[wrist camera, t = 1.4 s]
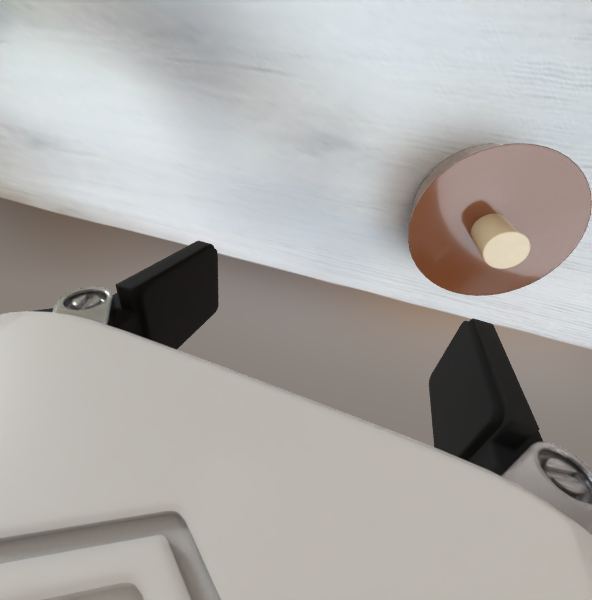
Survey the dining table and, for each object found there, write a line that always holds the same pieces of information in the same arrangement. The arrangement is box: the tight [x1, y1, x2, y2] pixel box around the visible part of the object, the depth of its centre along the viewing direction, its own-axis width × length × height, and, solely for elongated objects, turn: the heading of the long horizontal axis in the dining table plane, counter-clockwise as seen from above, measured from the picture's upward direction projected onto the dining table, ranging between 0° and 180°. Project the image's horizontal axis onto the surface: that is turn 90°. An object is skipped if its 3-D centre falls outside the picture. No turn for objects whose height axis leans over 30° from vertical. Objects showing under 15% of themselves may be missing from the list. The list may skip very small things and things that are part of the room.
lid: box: [408, 143, 592, 296], centre depth 24 cm, size 14×14×6 cm
